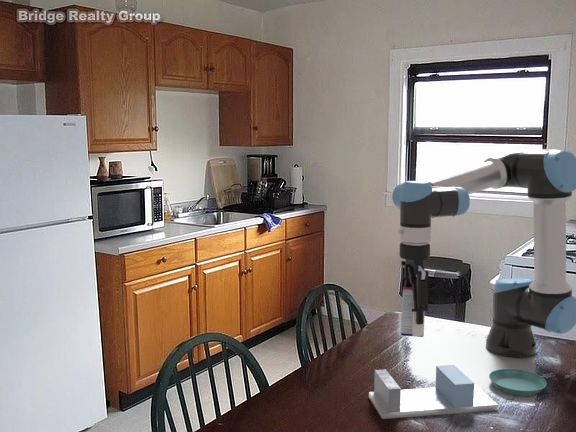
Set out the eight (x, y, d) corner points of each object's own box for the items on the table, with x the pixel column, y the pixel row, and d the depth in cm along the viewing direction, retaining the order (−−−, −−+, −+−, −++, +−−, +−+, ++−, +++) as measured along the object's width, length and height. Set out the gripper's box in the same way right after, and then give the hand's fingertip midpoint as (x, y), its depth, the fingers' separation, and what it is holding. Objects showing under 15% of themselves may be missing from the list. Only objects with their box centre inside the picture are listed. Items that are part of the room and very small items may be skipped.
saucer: (503, 372, 170) (503, 364, 170) (555, 387, 160) (555, 378, 159) (478, 388, 160) (479, 378, 159) (532, 405, 149) (532, 395, 149)
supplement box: (424, 337, 146) (425, 293, 144) (400, 335, 147) (401, 291, 145) (424, 329, 151) (425, 287, 150) (401, 328, 153) (402, 285, 151)
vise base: (475, 389, 158) (476, 363, 157) (497, 410, 146) (498, 381, 145) (368, 397, 154) (369, 370, 153) (382, 418, 142) (382, 389, 141)
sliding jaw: (453, 386, 157) (453, 364, 156) (473, 406, 145) (474, 383, 144) (435, 387, 156) (436, 365, 155) (454, 407, 144) (455, 384, 144)
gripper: (388, 236, 155) (387, 319, 158) (413, 250, 136) (411, 345, 139) (415, 235, 156) (413, 318, 159) (444, 249, 137) (441, 343, 140)
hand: (412, 330), depth 149 cm, fingers closed on supplement box, 7 cm apart
